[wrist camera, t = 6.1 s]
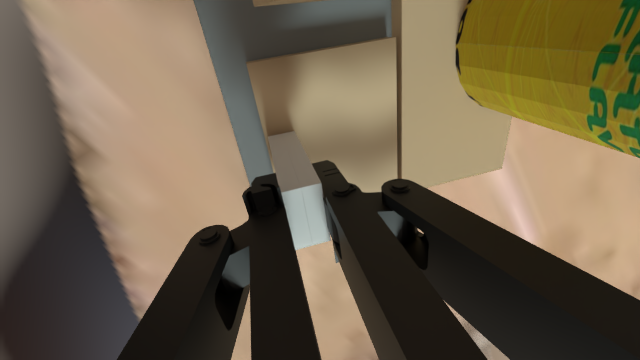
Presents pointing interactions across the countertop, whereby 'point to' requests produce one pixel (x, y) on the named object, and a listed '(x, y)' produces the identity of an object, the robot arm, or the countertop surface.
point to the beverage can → (556, 65)
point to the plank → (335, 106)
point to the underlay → (411, 66)
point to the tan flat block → (279, 2)
